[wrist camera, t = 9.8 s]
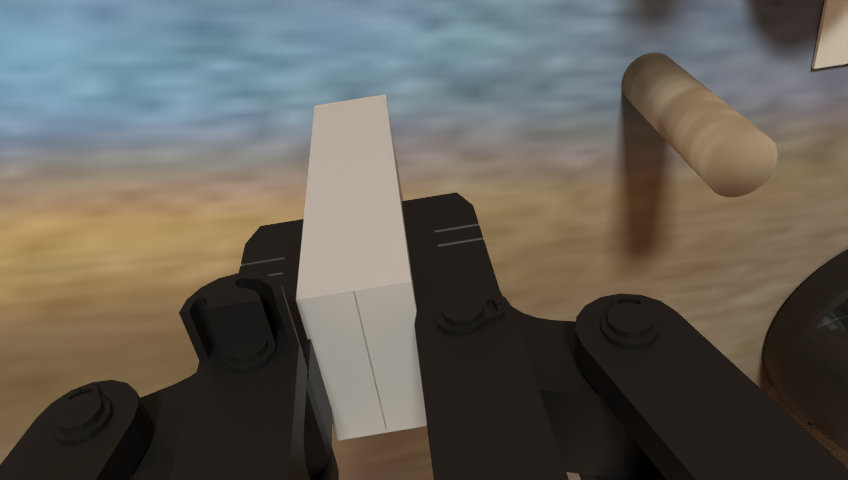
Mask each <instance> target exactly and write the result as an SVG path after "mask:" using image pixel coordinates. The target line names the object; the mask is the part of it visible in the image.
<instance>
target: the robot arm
mask: <svg viewBox="0 0 848 480" xmlns="http://www.w3.org/2000/svg"><path fill="white" fill-rule="evenodd" d="M241 264H242V266H240V270H239V273H237V274H234V275H230V276H226V277H223V278H219V279H217V280H215V281H213V282H211V283H209V284H207V285H205V286H203V287H201V288H200V289H199V290H198V291H197V292H195V293H194V294H193V295H192V296H191V297H189V298H188V299H187V300H186V302H185V304H184V305H183V307H182V309H181V310H180V312H179V314H180V316H181V318H182V321H183V323H184V325H185V328H186V330H187V332H188V335H189V337H190V339H191V342H192V344H193V346H194V349H195V351H196V353H197V356H198V358H199V360H200V361H199V365H198V369H197V372H196V373H195V374H193V375H192V376H190V377H189V378H187V379H184V380H182V381H180V382H178V383H176V384H174V385H172V386H169V387H167V388H164V389H162V390H159V391H157V392H154V393H151V394H149V395H146V396H144V397H141V398H140V397H139V395H138V394H137V392H136V391H135V390H134V389H133V388H132V387H131V386H130V385H129V384H127V383H124V382H119V381H114V380H107V381H100V382H92V383H90V384H87V385H84V386H82V387H79V388H77V389H74V390H71V391H70V392H68V393H67V394H65V395H63V396H62V397H60V398H59V399H57V400H56V401H54V402H53V403H51V404H50V405H49V406H48V407H47V408H46V409H45V410H44V411H43V412H42V413H41V414H40V415H39V416H38V417H37V418H36V420H35V421H34V422H33V423H32V425H31V426H30V427H29V429H28V430H27V431H26V432H25V434H24V435H23V436H22V438H21V439H20V440H19V442H18V443H17V444H16V445H15V447H14V448H13V449H12V451H11V452H10V453H9V455H8V456H7V457H6V458H5V460H4V461H3V462H2V464H1V465H0V480H338V479H339V471H338V467H337V463H336V459H335V456H334V452H333V449H332V422H333V426H334V429H335V433H336V436H337V439H338V441H339V440H345V439H351V438H357V437H363V436H369V435H375V434H381V433H387V432H393V431H399V430H405V429H411V428H417V427H424V426H427V429H428V436H429V444H430V452H431V460H432V467H433V475H434V480H569V479H568V476H567V473H566V472H572V473H579V475H580V478H581V480H848V469H847V468H846V467H845V466H844V465H843V464H842V463H841V462H840V461H839V460H837V459H836V458H835V457H834V456H833V455H832V454H831V453H830V452H829V451H828V450H827V449H825V448H824V447H823V446H822V445H821V444H820V443H819V442H818V441H817V440H816V439H815V438H814V437H812V436H811V435H810V434H809V433H808V432H807V431H806V430H805V429H804V428H803V427H802V426H800V425H799V424H798V423H797V422H796V421H795V420H794V419H793V418H792V417H791V416H790V415H788V414H787V413H786V412H785V411H784V410H783V409H782V408H781V407H780V406H779V405H778V404H776V403H775V402H774V401H773V400H772V399H771V398H770V397H769V396H768V395H767V394H766V393H764V392H763V391H762V390H761V389H760V388H759V387H758V386H757V385H756V384H755V383H754V382H752V381H751V380H750V379H749V378H748V377H747V376H746V375H745V374H744V373H743V372H742V371H741V370H739V369H738V368H737V367H736V366H735V365H734V364H733V363H732V362H731V361H730V360H729V359H727V358H726V357H725V356H724V355H723V354H722V353H721V352H720V351H719V350H718V349H717V348H715V347H714V346H713V345H712V344H711V343H710V342H709V341H708V340H707V339H706V338H705V337H703V336H702V335H701V334H700V333H699V332H698V331H697V330H696V329H695V328H694V327H693V326H691V325H690V324H689V323H688V322H687V321H686V320H685V319H684V318H683V317H682V316H681V315H679V314H678V313H677V312H676V311H675V310H673V309H672V308H670V307H669V306H667V305H666V304H664V303H662V302H661V301H659V300H656V299H652V298H649V297H646V296H642V295H634V294H616V295H610V296H605V297H601V298H599V299H597V300H595V301H593V302H591V303H589V304H587V305H586V306H585V307H584V308H583V309H582V311H581V312H580V313H579V315H578V316H577V319H576V322H572V321H557V320H548V319H541V318H536V317H533V316H530V315H527V314H524V313H522V312H520V311H518V310H517V309H515V308H513V307H512V306H511V305H510V304H509V302H508V301H507V299H506V298H505V297H503V296H502V294H501V292H500V290H499V286H498V283H497V280H496V277H495V274H494V271H493V267H492V264H491V261H490V258H489V255H488V252H487V248H486V245H485V242H484V240H483V236H482V233H481V229H480V226H479V224H478V220H477V217H476V214H475V210H474V207H473V205H472V204H471V203H469V202H468V201H467V200H466V199H464V198H463V197H462V196H460V195H459V194H458V193H451V194H444V195H438V196H432V197H426V198H420V199H413V200H407V201H403V196H402V190H401V184H400V178H399V172H398V166H397V160H396V154H395V148H394V142H393V136H392V130H391V124H390V118H389V112H388V106H387V100H386V94H385V95H379V96H373V97H367V98H360V99H354V100H348V101H341V102H335V103H329V104H323V105H316V106H315V108H314V118H313V129H312V139H311V149H310V160H309V170H308V180H307V191H306V201H305V211H304V219H302V220H296V221H290V222H283V223H277V224H271V225H265V226H260V227H259V229H258V230H257V231H256V232H255V233H254V234H253V236H252V237H251V238H250V239H249V240H248V242H247V243H246V244H245V248H244V252H243V257H242V261H241ZM764 365H765V370H766V374H767V376H768V379H769V381H770V382H771V384H772V386H773V387H774V388H775V390H776V391H777V392H778V394H779V395H780V397H781V398H782V399H783V401H784V402H785V403H786V405H787V406H788V407H789V409H790V410H791V411H792V412H793V413H794V414H795V415H796V416H797V417H798V418H799V419H801V420H802V421H803V422H805V423H807V424H808V425H810V426H812V427H813V428H815V429H817V430H819V431H821V432H822V433H823V434H825V435H826V436H827V437H828V438H830V439H831V440H832V441H834V442H835V443H836V444H838V445H839V446H840V447H842V448H843V449H844V450H846V451H847V452H848V250H847V251H845V252H843V253H842V254H840V255H838V256H837V257H835V258H834V259H832V260H831V261H829V262H828V263H827V264H825V265H824V266H823V267H821V268H820V269H819V270H818V271H816V272H815V273H814V274H813V275H812V276H810V277H809V278H808V279H807V280H806V281H805V282H804V283H803V284H802V285H801V286H800V287H799V288H798V289H797V290H796V291H795V292H794V293H793V295H792V296H791V297H790V298H789V299H788V301H787V302H786V303H785V305H784V306H783V308H782V309H781V310H780V312H779V314H778V315H777V317H776V319H775V321H774V323H773V325H772V327H771V329H770V331H769V334H768V337H767V341H766V345H765V351H764Z"/></svg>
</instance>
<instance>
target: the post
mask: <svg viewBox="0 0 848 480" xmlns="http://www.w3.org/2000/svg"><path fill="white" fill-rule="evenodd" d="M622 90H623V93H624V95H625V97H626V98H627V100H628V101H629V102H630V103H631V104H632V105H633V106H634V107H635V108H636V109H637V110H638V111H639V112H640V113H641V115H642V116H643V117H644V118H645V119H646V120H647V121H648V122H649V123H650V124H651V125H652V126H653V127H654V128H655V129H656V130H657V132H658V133H659V134H660V135H661V136H662V137H663V138H664V139H665V140H666V141H667V142H668V143H669V144H670V145H671V146H672V147H673V149H674V150H675V151H676V152H677V153H678V154H679V155H680V156H681V157H682V158H683V159H684V160H685V161H686V162H687V163H688V164H689V166H690V167H691V168H692V169H693V170H694V171H695V172H696V173H697V174H698V175H699V176H700V177H701V178H702V179H703V180H704V181H705V183H706V184H707V185H708V186H709V187H710V188H711V189H712V190H713V191H714V192H716V193H717V194H719V195H721V196H725V197H738V196H742V195H745V194H748V193H750V192H752V191H754V190H756V189H757V188H759V187H760V186H761V185H762V184H763V183H764V182H765V181H766V180H767V179H768V178H769V177H770V175H771V174H772V172H773V171H774V169H775V166H776V163H777V158H778V152H777V148H776V145H775V143H774V142H773V141H772V140H771V139H770V138H769V137H768V136H767V135H765V134H764V133H763V132H762V131H760V130H759V129H758V128H757V127H755V126H754V125H753V124H752V123H750V122H749V121H748V120H747V119H745V118H744V117H743V116H742V115H740V114H739V113H738V112H737V111H735V110H734V109H733V108H732V107H730V106H729V105H728V104H727V103H725V102H724V101H723V100H721V99H720V98H719V97H718V96H716V95H715V94H714V93H713V92H711V91H710V90H709V89H708V88H706V87H705V86H704V85H703V84H701V83H700V82H699V81H698V80H696V79H695V78H694V77H693V76H691V75H690V74H689V73H688V72H686V71H685V70H684V69H683V68H681V67H680V66H679V65H678V64H676V63H675V62H674V61H673V60H671V59H670V58H669V57H667V56H666V55H664V54H661V53H649V54H645V55H643V56H641V57H639V58H637V59H636V60H635V61H633V62H632V63H631V64H630V66H629V67H628V68H627V70H626V72H625V74H624V76H623V80H622Z"/></svg>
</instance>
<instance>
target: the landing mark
mask: <svg viewBox="0 0 848 480" xmlns="http://www.w3.org/2000/svg"><path fill="white" fill-rule="evenodd" d="M842 64H848V0H825V2H824V7H823V12H822V17H821V22H820V27H819V32H818V37H817V42H816V47H815V53H814V58H813V63H812V68H813V69H817V68H823V67H830V66H836V65H842Z"/></svg>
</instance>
